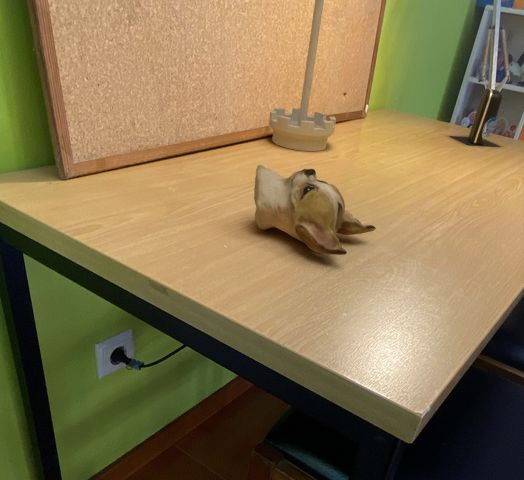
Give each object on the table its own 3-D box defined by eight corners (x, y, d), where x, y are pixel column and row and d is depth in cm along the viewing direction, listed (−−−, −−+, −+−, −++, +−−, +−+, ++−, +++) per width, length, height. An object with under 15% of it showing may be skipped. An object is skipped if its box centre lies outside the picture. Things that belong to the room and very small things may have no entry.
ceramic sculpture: (281, 143, 63) (392, 180, 59) (270, 209, 69) (371, 247, 64) (235, 159, 56) (358, 203, 51) (226, 231, 61) (337, 278, 56)
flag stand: (323, 156, 95) (358, -43, 78) (258, 143, 98) (278, -53, 81) (336, 142, 106) (369, -36, 88) (277, 131, 108) (298, -45, 91)
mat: (499, 146, 121) (500, 146, 121) (468, 145, 118) (468, 144, 118) (479, 137, 127) (479, 137, 127) (449, 136, 125) (449, 135, 125)
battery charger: (486, 146, 119) (505, 93, 112) (470, 143, 119) (488, 90, 113) (483, 140, 124) (501, 89, 118) (467, 137, 125) (484, 86, 118)
